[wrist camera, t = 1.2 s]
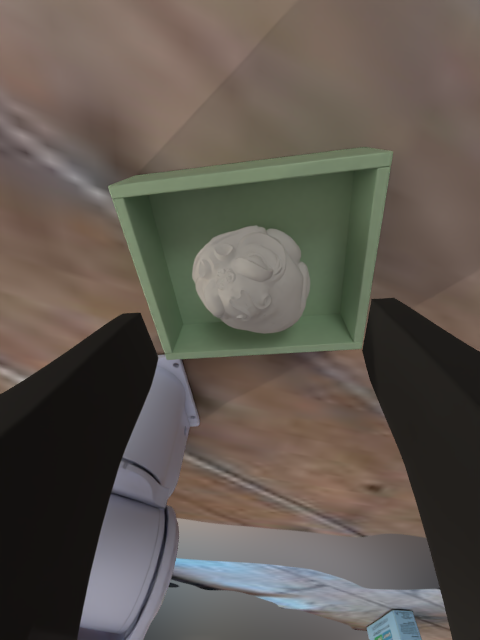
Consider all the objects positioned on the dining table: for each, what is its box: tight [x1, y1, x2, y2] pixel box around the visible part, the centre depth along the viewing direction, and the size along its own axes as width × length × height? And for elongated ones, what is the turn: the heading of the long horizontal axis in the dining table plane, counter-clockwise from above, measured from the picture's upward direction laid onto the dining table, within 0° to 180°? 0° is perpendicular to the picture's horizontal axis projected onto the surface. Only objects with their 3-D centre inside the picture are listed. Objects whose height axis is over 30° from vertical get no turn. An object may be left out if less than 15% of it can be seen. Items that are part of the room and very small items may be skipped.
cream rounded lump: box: [192, 225, 310, 334], centre depth 16 cm, size 6×7×7 cm
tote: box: [108, 147, 393, 360], centre depth 18 cm, size 11×13×4 cm
